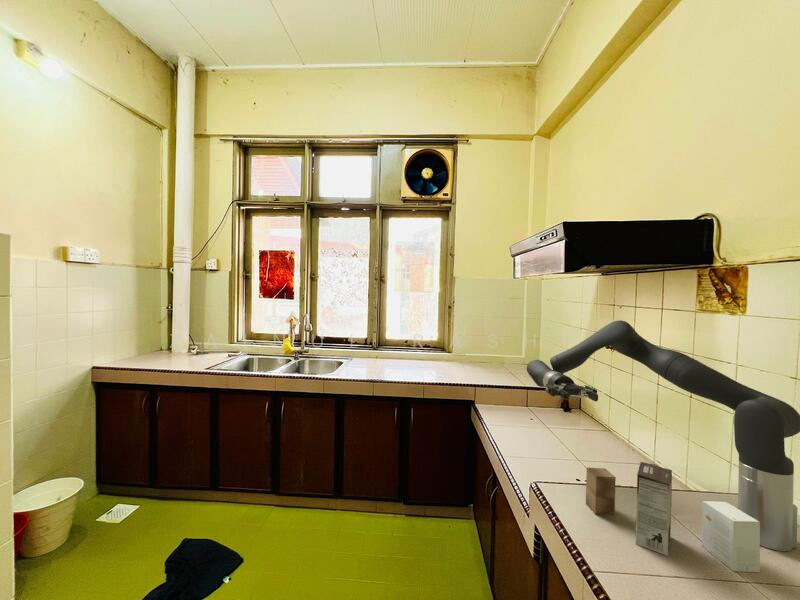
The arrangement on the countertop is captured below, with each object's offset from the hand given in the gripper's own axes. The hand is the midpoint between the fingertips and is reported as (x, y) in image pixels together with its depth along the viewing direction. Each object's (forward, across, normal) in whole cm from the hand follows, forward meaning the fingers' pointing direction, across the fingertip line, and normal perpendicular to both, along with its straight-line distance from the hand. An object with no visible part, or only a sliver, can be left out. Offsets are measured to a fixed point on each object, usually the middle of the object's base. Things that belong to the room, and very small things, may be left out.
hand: (582, 397), depth 106 cm
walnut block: (+11, 0, +27) cm, 29 cm away
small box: (+28, +19, +27) cm, 43 cm away
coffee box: (+23, +6, +27) cm, 36 cm away
